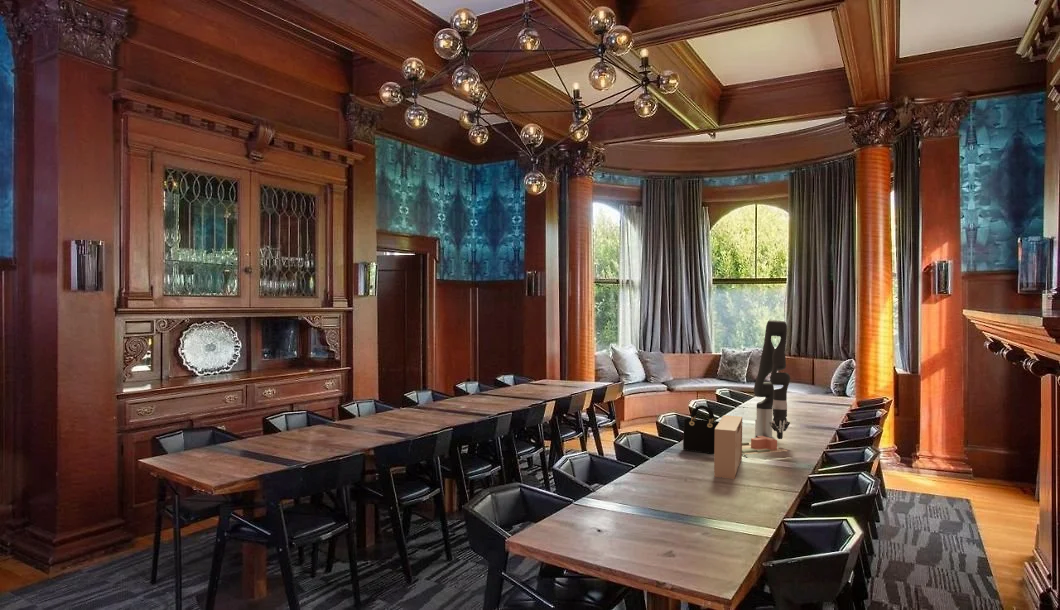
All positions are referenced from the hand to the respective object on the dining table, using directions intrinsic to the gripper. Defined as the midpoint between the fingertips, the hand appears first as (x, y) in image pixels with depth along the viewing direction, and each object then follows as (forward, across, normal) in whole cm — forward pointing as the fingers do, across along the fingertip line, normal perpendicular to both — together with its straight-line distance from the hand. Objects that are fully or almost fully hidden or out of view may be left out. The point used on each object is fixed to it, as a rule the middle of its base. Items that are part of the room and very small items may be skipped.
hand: (779, 438), depth 358 cm
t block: (+4, +12, -1) cm, 13 cm away
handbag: (+6, +46, -8) cm, 47 cm away
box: (+6, +54, +26) cm, 60 cm away
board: (+6, +17, -2) cm, 18 cm away
